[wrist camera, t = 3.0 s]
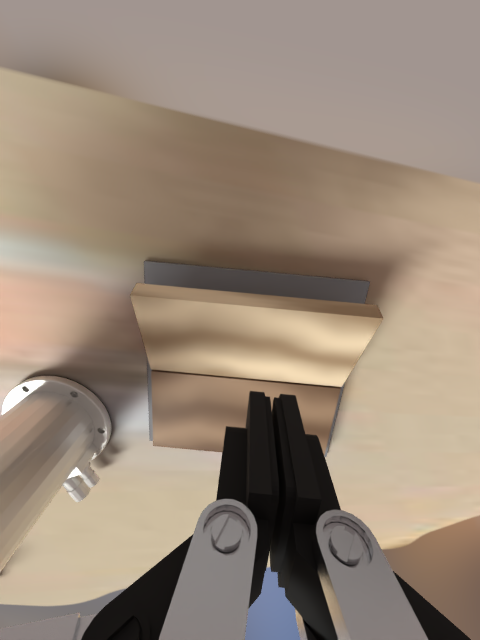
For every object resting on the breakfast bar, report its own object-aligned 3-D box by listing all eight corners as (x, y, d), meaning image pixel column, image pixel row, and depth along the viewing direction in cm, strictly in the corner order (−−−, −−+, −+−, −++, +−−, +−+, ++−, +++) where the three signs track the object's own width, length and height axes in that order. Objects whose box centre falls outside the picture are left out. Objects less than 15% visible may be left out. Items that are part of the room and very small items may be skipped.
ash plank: (338, 373, 30) (341, 386, 28) (155, 357, 30) (150, 369, 28) (377, 305, 23) (383, 318, 21) (136, 282, 23) (130, 295, 21)
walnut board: (319, 450, 33) (322, 461, 32) (157, 435, 33) (153, 445, 32) (336, 380, 30) (340, 388, 29) (156, 363, 30) (151, 371, 29)
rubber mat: (325, 454, 34) (326, 456, 34) (150, 438, 34) (149, 440, 34) (368, 281, 27) (369, 282, 26) (145, 260, 27) (143, 261, 26)
